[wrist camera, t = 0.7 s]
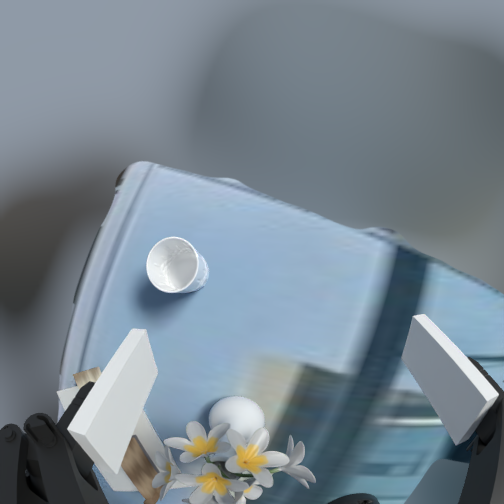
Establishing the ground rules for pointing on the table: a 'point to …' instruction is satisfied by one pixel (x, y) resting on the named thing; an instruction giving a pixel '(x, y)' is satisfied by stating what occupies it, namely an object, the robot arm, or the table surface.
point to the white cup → (176, 266)
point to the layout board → (144, 438)
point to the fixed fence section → (140, 472)
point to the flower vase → (229, 456)
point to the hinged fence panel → (87, 376)
